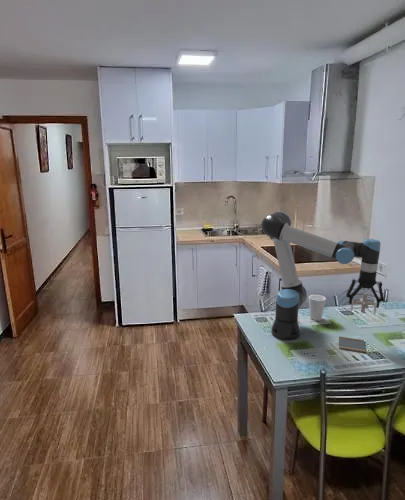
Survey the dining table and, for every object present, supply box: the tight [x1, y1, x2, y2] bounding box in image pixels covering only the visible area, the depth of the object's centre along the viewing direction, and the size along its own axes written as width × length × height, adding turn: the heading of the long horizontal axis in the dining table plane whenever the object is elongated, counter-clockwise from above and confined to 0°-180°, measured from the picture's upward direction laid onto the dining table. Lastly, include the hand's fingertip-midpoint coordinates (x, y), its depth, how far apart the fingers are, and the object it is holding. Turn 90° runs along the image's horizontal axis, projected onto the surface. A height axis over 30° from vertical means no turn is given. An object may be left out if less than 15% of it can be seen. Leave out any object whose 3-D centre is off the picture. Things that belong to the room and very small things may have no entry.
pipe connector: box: [353, 292, 375, 314], centre depth 180 cm, size 10×10×10 cm
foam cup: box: [308, 294, 327, 321], centre depth 208 cm, size 10×9×13 cm
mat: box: [338, 335, 366, 354], centre depth 178 cm, size 12×12×1 cm
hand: (362, 311), depth 181 cm, fingers closed on pipe connector, 10 cm apart
